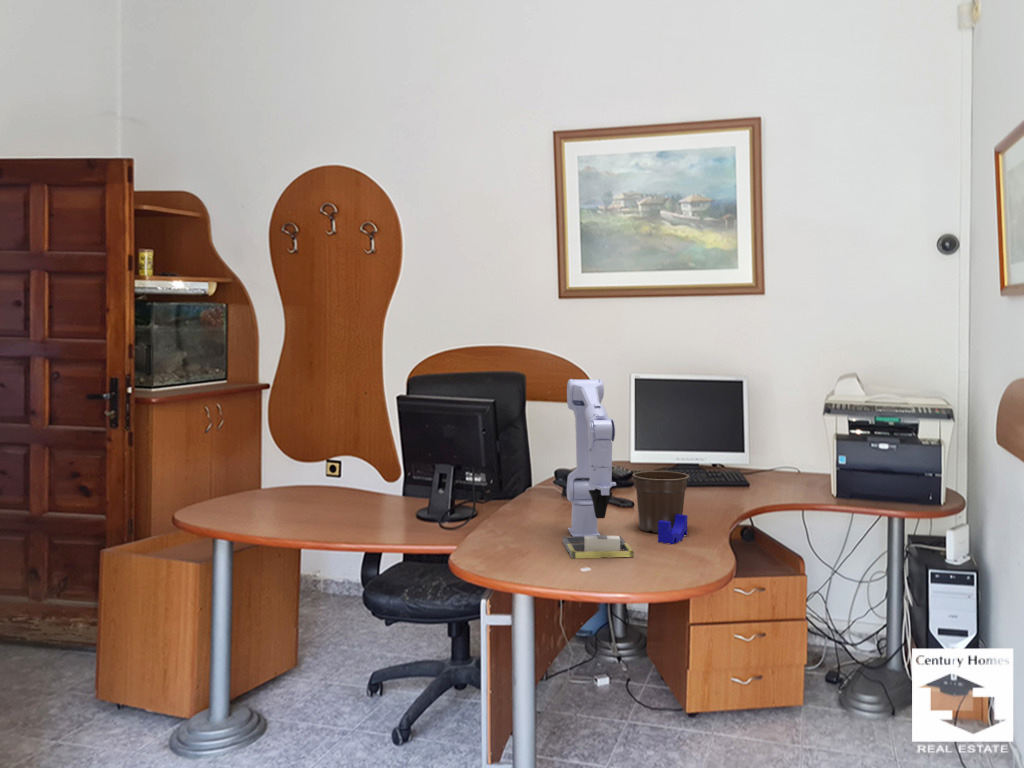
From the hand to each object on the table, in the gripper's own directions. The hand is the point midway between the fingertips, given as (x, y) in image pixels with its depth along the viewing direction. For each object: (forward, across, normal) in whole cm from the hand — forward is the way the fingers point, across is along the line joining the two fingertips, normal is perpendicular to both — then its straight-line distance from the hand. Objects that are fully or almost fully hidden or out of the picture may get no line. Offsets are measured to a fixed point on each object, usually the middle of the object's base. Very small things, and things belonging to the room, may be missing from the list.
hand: (600, 517), depth 229 cm
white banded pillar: (+10, 0, -1) cm, 10 cm away
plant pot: (+10, +27, -22) cm, 36 cm away
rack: (+9, +4, 0) cm, 10 cm away
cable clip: (+10, +15, -24) cm, 30 cm away
